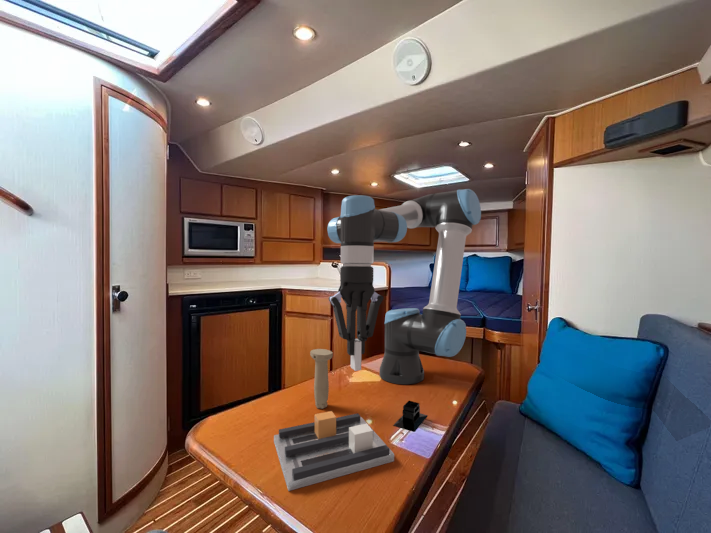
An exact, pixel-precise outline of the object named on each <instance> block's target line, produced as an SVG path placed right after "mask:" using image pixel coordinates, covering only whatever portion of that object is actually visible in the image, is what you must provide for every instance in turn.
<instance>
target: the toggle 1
mask: <svg viewBox="0 0 711 533" xmlns="http://www.w3.org/2000/svg"><path fill="white" fill-rule="evenodd" d="M336 418H337V416H336V415H335V413H334V412H333V410H329V411H325V412H320V413H315V414H314V422H315V434H316V436H317V437H318V439H321V438H326V437H330V436H334V435H336Z"/></svg>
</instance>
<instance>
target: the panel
mask: <svg viewBox="0 0 711 533" xmlns="http://www.w3.org/2000/svg"><path fill="white" fill-rule="evenodd" d="M366 423H367V422H366V420H365V419H364V418H363V417H362V416H360V421H358V422H357V421H356V422H353V423H348V424H344V425H339V426H336V435H339V434H344V433H348V432H349V427H353V426H357V425H362V424H366ZM368 426H369V427H371V426H370V425H369V424H368ZM372 430H373V448H376V447H380V446H384V445H387V444H386V443H385V442H384V440H383V439H382V438H381V437H380V436H379V435H378V434H377V433H376V432H375V430H374V429H373V428H372ZM334 436H335V435H334ZM330 437H331V436H330ZM317 439H318V437H317V436H316V434H315V431H311V432H306V433H302V434H297V435H293V436H286V437H283V438H280V437H279V433H278V434H274V435H273V444H274V446H275V449H276V453H277V456H278V457H277V458H278V461H279V464H280V468H281V471H282V474H283V477H284V478H283V479H284V481H285V484H286V488H287V490H288V492H291V491H293V490H297V489H300V488H304V487H308V486H312V485H314V484H319V483H322V482H325V481H329V480H332V479H335V478H336V479H337V478H339V477H343V476H346V475H349V474H353V473H356V472H357V473H358V472H360V471H364V470H367V469H372V468H374V467H378V466H381V465H384V464H385V465H386V464H389V463H392V462H395V453H394V452H393V450H391V449H390V454H389V455H386V456H383V457H379V458H375V459H372V460H368V461H364V462H361V463H357V464H353V465H350V466H346V467H342V468H338V469H335V470H331V471H327V472H324V473H320V474H316V475H313V476H309V477H305V478H302V479H298V480H294V479H293V476H292V469H294V468H298V467H302V466H306V465H310V464H313V463H317V462H321V461H325V460H329V459H333V458H337V457H341V456H345V455H349V454H352V453H353V452H352V450H351V449H350V447H349V442H346V443H342V444H338V445H334V446H329V447H325V448H321V449H317V450H313V451H309V452H304V453H300V454H296V455H291V456H288V457H286V455H285V447H287V446H291V445H295V444H300V443H304V442H309V441H313V440H317ZM321 439H322V438H321Z"/></svg>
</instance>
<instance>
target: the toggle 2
mask: <svg viewBox="0 0 711 533" xmlns="http://www.w3.org/2000/svg"><path fill="white" fill-rule="evenodd" d="M368 425H369V424H368V423H367V422H366V424H362V425H357V426H353V427H349V447H350V449H351V450H352V452H353V453H356V452H360V451H364V450H368V449H372V448H373V431H374V429H373V428H372V427H371V426H370V425H369V426H370V427H371V428H372V429H373V430H372V429H371V428H370V427H369V426H368Z"/></svg>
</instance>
